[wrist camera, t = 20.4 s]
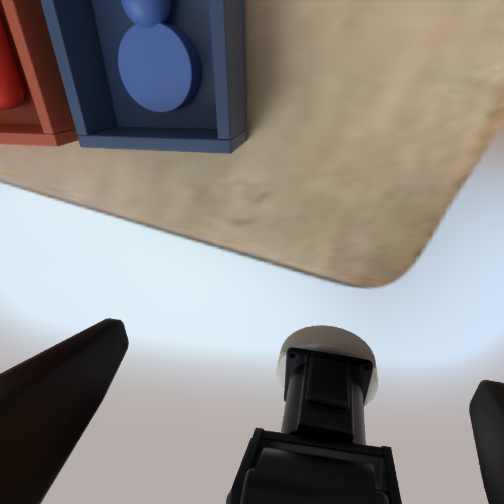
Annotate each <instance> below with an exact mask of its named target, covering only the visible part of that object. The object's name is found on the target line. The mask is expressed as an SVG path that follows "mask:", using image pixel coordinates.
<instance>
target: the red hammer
mask: <svg viewBox="0 0 504 504" xmlns="http://www.w3.org/2000/svg"><path fill="white" fill-rule="evenodd" d="M24 97H25V91H24V87H23V84H22V81H21V78H20V75H19V72H18V69H17V66H16V63H15V60H14V57H13V53H12V50H11V47H10V44H9V41H8V38H7V35H6V32H5V29H4V26H3V23H2V20H1V17H0V109H14V108H17V107H18V106H20V105H21V103H22V102H23V100H24Z"/></svg>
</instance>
